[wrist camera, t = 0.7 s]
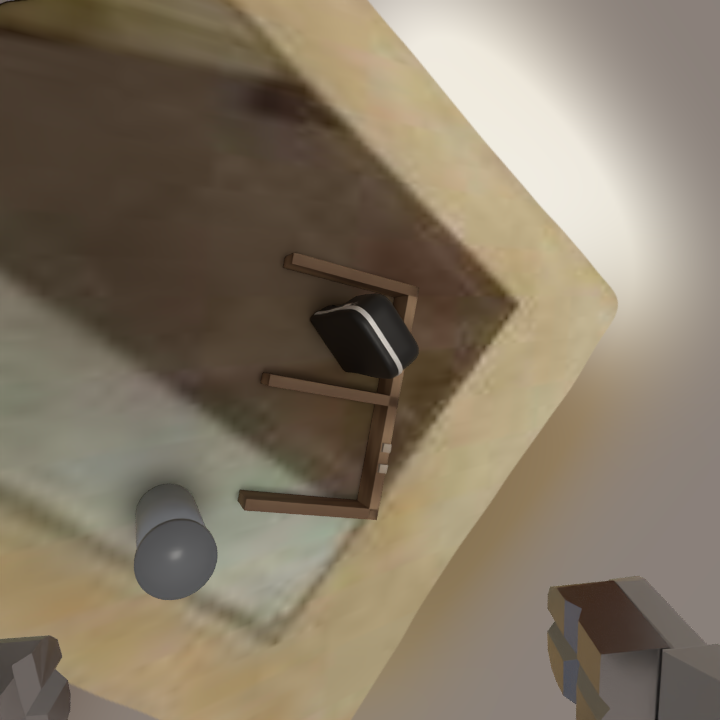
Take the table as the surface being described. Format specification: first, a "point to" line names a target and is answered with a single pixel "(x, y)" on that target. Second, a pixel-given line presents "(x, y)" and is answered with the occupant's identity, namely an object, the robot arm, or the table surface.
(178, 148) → the table surface
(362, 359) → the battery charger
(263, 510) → the dock
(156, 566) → the canister
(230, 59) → the table surface
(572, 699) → the robot arm
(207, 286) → the table surface
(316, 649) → the table surface
